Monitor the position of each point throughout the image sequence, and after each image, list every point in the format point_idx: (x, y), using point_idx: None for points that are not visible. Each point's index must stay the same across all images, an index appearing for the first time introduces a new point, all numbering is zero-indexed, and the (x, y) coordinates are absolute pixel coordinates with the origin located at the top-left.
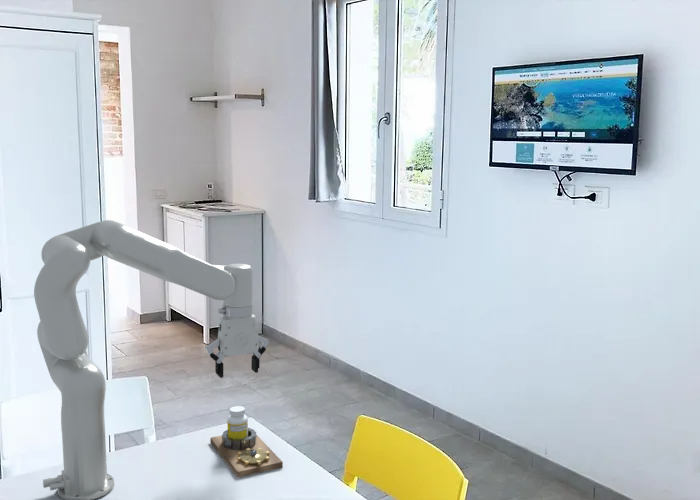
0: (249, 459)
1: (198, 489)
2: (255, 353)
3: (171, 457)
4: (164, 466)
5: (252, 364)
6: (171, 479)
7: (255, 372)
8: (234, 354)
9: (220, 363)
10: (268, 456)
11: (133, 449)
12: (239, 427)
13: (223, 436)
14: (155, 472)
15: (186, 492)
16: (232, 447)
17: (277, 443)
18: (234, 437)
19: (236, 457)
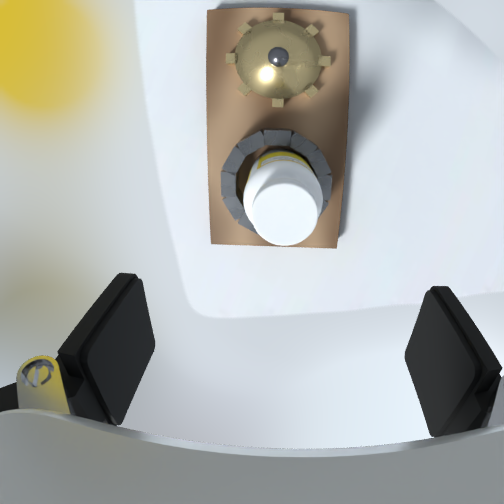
0: (300, 38)
1: (444, 29)
2: (55, 411)
3: (442, 213)
4: (470, 178)
5: (136, 362)
6: (479, 109)
7: (139, 286)
8: (441, 453)
9: (494, 377)
10: (239, 30)
11: (474, 288)
12: (290, 159)
13: (328, 192)
14: (491, 163)
15: (468, 36)
16: (314, 143)
17: (166, 154)
18: (304, 161)
19: (321, 90)
